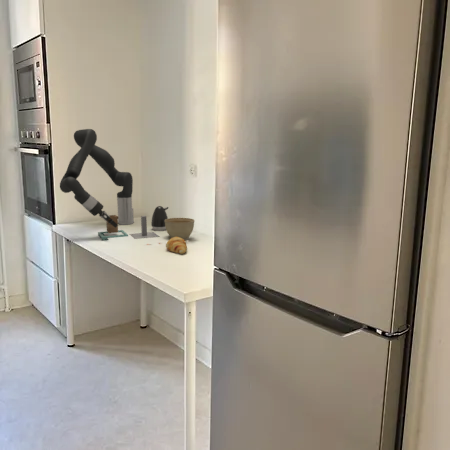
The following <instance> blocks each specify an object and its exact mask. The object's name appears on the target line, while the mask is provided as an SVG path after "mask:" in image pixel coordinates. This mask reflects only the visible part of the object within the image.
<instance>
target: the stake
mask: <svg viewBox="0 0 450 450" xmlns="http://www.w3.org/2000/svg"><path fill="white" fill-rule="evenodd" d="M147 223H148V221H147V215H141V216H140V225H141V226H140V227H141V229H140V230H141V232H138V233H135V232H134V233H128V236H129V235H130V236H131V237H132V238H133V239H134V240H138V239H139V240H141V239H149V238H150V239H151V238H161V237H160V236H159V235H158V234H157V233H156V232H155V231H150V232H149V231H148V229H147V228H148V226H147Z"/></svg>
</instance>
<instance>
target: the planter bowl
mask: <svg viewBox="0 0 450 450" xmlns="http://www.w3.org/2000/svg"><path fill="white" fill-rule="evenodd" d="M165 227H166V230H165V231H166V232H167V234H168V236H169V237H170V239H171V238H173V237H180V238H182V239H184V240H188V239H189V237H190V236H191V235H192V233H193V231H194V228H195V219H194V218H189V217H170V218H168V219H165Z"/></svg>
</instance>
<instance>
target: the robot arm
mask: <svg viewBox="0 0 450 450" xmlns="http://www.w3.org/2000/svg"><path fill="white" fill-rule="evenodd" d="M73 139H74V141H75V144H76V145H77V146H78V147H79V148H80V149H79V150H78V151H77V152H76V153H75V154H74V155H73V157H72V158H71V159H70V161H69V163H68V165H67V169H66V171H65V173H64V175H63V176H62V178H61V180H60V182H59V188H60V191H61V192H63V193H65V194H68V193H70V192H71V193H73V194H74V200H76V202H77V203H79V204H80V205H81V206H83V208H84V209H85V210H86V211H88V212H89V214H91V215H92V216H94V217H95V216H99V217H100V219H102V220H104V221H105V222H106V221H108V219H111V218H110V216H109V214H108V213H107V212H106V210H103V209H104V204H102V203H101V202H100V201H99V200H98V199H96V198H95V197H94V196H92V194H90V193H89V192H88V191H86V190H85V188H84V187H83V185H82V184H81V183H80V182H79V180H78V178H79V177H80V175H81V173H82V170H83V166H84V164H85V162H86V160H87V158H88V157H89V156H90V157H91V158H92V159H93V160H94V161H95V163H96V164H97V165H98V166H99V167H100V168H101V169H102V170H103V171H104V172H105V173H106V174H107V176H108V177H109V179H111V181H112V182H113V184H114V185H116V186H117V187H122V190H121V191H119V192H117V193H116V201H117V206H116V207H117V216H118V224H116V223H115V222H114V221H113V219H111V220H110V221H108V222H109V223H110V224H111V225H113V226H114V227H115V228H116V227H117V226H118V227H119V225H131V224H133V223H135V222H134V208H133V185H134V183H133V176H132V173H131V172H128V171H119V170H118V169H117V168H116V167H115V164H116V163H115V159H114V157H113V156H112V155H111V154H110V153H109V152H108V151H107V150H106V149H104V148H102V147H100V146H98V145H96V143H97V140H98V137H97V133H96V130H94V129H91V128H85V129H84V128H83V129H78V130H75V131H74V132H73Z"/></svg>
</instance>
